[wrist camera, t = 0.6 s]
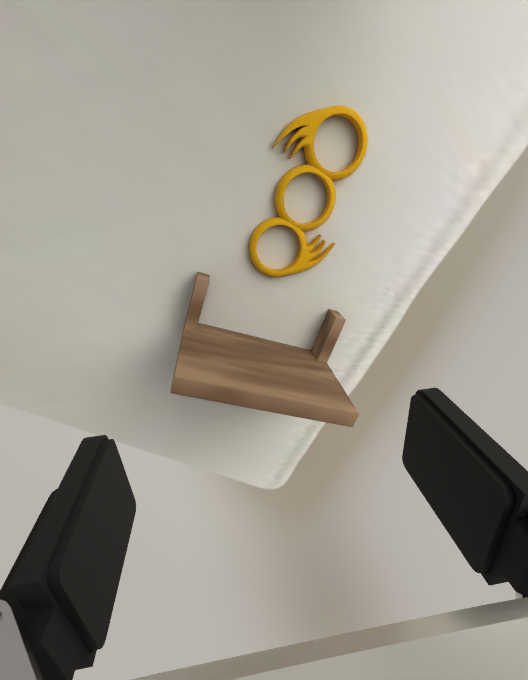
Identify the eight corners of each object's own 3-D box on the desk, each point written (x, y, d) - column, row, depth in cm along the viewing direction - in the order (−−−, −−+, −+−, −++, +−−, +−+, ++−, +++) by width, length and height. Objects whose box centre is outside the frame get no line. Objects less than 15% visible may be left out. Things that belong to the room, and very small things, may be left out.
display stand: (197, 272, 34) (191, 312, 24) (338, 311, 39) (386, 361, 28) (182, 331, 37) (170, 393, 26) (315, 363, 41) (352, 427, 30)
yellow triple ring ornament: (391, 145, 32) (306, 78, 29) (399, 143, 31) (311, 73, 28) (300, 291, 37) (220, 248, 34) (304, 296, 36) (221, 251, 33)
